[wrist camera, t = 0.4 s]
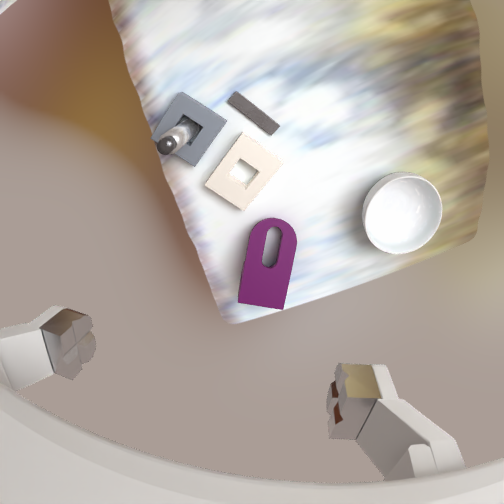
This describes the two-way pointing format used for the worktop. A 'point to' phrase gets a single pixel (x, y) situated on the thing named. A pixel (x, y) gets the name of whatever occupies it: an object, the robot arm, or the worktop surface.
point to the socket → (200, 115)
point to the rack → (252, 155)
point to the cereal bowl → (401, 212)
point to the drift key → (253, 113)
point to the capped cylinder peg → (177, 137)
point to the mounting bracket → (267, 278)
